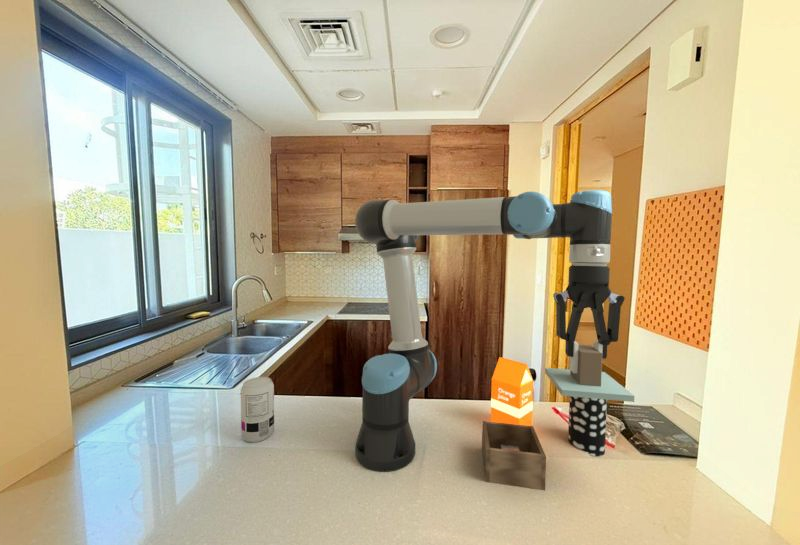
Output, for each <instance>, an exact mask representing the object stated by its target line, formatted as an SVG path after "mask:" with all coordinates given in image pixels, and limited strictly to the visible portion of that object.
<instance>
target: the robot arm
mask: <svg viewBox="0 0 800 545" xmlns="http://www.w3.org/2000/svg"><path fill="white" fill-rule="evenodd" d="M612 200H613V199H612V194H611V193H610V192H609V191H606V190H603V189H592V190H585V191H578V192H575V193H573V194H572V195H571V197H570V200H569V202H566V203H554V204H553V203H552V201H551V200H550V199H549V198H548V197H547V196H546V195H545V194H542V193H540V192H537V191H533V190H532V191H524V192H522V193H520V194H518V195H517V196H516V195H515V196H500V197H499V196H498V197H483V198H469V199H467V198H465V199H452V200H450V199H449V200H436V201H433V200H432V201H420V202H419V201H418V202H403V203H400V202H398V200H396V199H373V200H368V201H367V202H364V203H363V204H362V205H361V206H360V207H359V208H358V210H357V212H356V214H355V217H354V218H355V219H354V226H355V229H356V231H357V233H358V235H359V237H361V238H362V240H364V241H365V242H367V243H370V244H373V245H375V248H376V254H377V255H378V257H380V258H381V259H382V261H383V262H382V263H383V270H384V271H383V272H384V279H385V280H384V281H385V285H386V286H385V288H386V295H387V297H386V298H387V303H388V314H389V321H390V329H391V337H392V338H391V339H392V341H391V342H390V344H389V345H388V347H387V349H388V353H384V354H380V355H379V354H377V355H374V356H372V357H371V358H369V359H368V360H367V361H366V362H365V363H364V365H363V368H362V376H361V385H362V386H361V387H362V388H361V390H362V393H361V394H362V398H361V399H362V403H361V404H362V406H361V407H362V409H361V411H362V415H361V416H362V422H361V426H360V428H359V431H358V435H357V438H356V441H355V445H354V446H355V449H354V450H355V451H354V452H355V459H356V461H357V462H358V463H359V464H360V465H361V466H362V467H364V468H366V469H369V470H372V471H377V472H391V471H396V470H400V469H403V468H404V467H406V466H408V465H410V463H412V461H413V460H414V458H415V456H416V440H415V436H414V435H413V430H412V428H411V424H410V421H409V417H410V412H409V411H410V410H409V409H410V408H409V406H410V404H409V403H410V400H411V399H413V397H415V396H416V395H417V394H419V393H420V392H421V391H423V390H424V389H425V388H427V387H428V386H429V385H430V384H431V382H432V381H433V380H434V378H435V377H436V374H437V370H438V363H437V362H438V361H437V359H436V356H435V354H434V353H433V352H432V351H431V350H430V347H429V343H428V341H427V340H426V339H425V338H423V333H422V325H421V318H420V311H419V302H418V293H417V285H416V276H415V269H414V268H415V267H414V261H413V254H414V253H415V252H416V251H417V239H418V237H419V236H456V235H457V236H463V235H465V236H466V235H467V236H469V235H472V236H473V235H474V236H475V235H477V236H479V235H482V236H483V235H485V236H486V235H489V236H490V235H507V236H508V235H509V236H510V235H512V236H513V237H514V238H515V239H525V240H531V239H553V238H555V239H556V238H558V239H559V238H563V239H565V238H569V251H568V252H569V255H568V262H569V263H570V264H571V265H569V266H568V284H567V287H566V288H565V290H564V291H561V292H554V293H553V296H552V297H553V300H554V301H555V307H556V310H555V311H556V312H555V313H556V315H555V316H556V336H557V337H558V338H560V339H561V340H565V355H566V356H567V357H568V358H569V370H571V371H572V372H573V373H577V369H578V345H579V343H578V342H577V341H576V337H577V333H578V330H579V325H580V321H581V319H582V314H583V313H584V311H585V309H589V308H590V311H591V313H592V317H593V318H592V319H593V323H594V328H595V333H596V334H595V335H596V338H597V341H593V346H592V347H593V348H595V349H596V350H598V351H599V352H601V353H602V360H603V359H604V360H605V359H607V357H608V346H610V344H611V343H615V342H618V341H619V335H620V333H619V332H620V320H621V309H622V308H621V307H622V305H623V303H624V301H625V296H624V295H619V294H616V293H613V292H612V291H611V288H610V285H609V284H610V270H611V268H610V267H609V265H608V266H607V264H609V263H610V262H611V240H612V239H611V238H612V217H613V210H612V209H613V207H612ZM568 297H569V299H570V300H571V302H572V306H571V313H570V316H569V321H568V325H567V318H566V316H567V314H566V312H567V311H566V310H567V309H566V302H567V299H568ZM607 300H608V302H609V304H608V313H607V315H608V316H607V326H606V321H605V316H604V305H603V304H604V303H605V302H606V301H607ZM601 375H602V372H601Z"/></svg>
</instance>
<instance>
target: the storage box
mask: <svg viewBox="0 0 800 545" xmlns="http://www.w3.org/2000/svg"><path fill="white" fill-rule="evenodd" d="M481 426H482V428H481V429H482V430H481V431H482V432H481V433H482V434H481V437H482V439H481V452H482V462H483V470H484V478H485V483H489V484H495V485H496V484H497V485H505V486H509V487H510V486H511V487H518V488H525V489H531V490H532V489H533V490H538V491H546V474H547V473H546V472H547V471H546V469H547V466H546V464H547V456H546V454H545V451H544V448H543V446H542V444H541V442H540V439H539V437H538V434H537V432H536V429H535V428H534V426H533V425H532V426H526V425H516V424H507V423H497V422H491V421H489V420H488V421H484V420H483V421H482V425H481ZM501 445H509V446H518V447H519V450H520V451H513V450H504V449H501Z"/></svg>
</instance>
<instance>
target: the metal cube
mask: <svg viewBox="0 0 800 545" xmlns="http://www.w3.org/2000/svg"><path fill="white" fill-rule="evenodd" d="M501 449H504V450H513V451H520V450H519V447H518V446H509V445H501Z"/></svg>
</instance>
